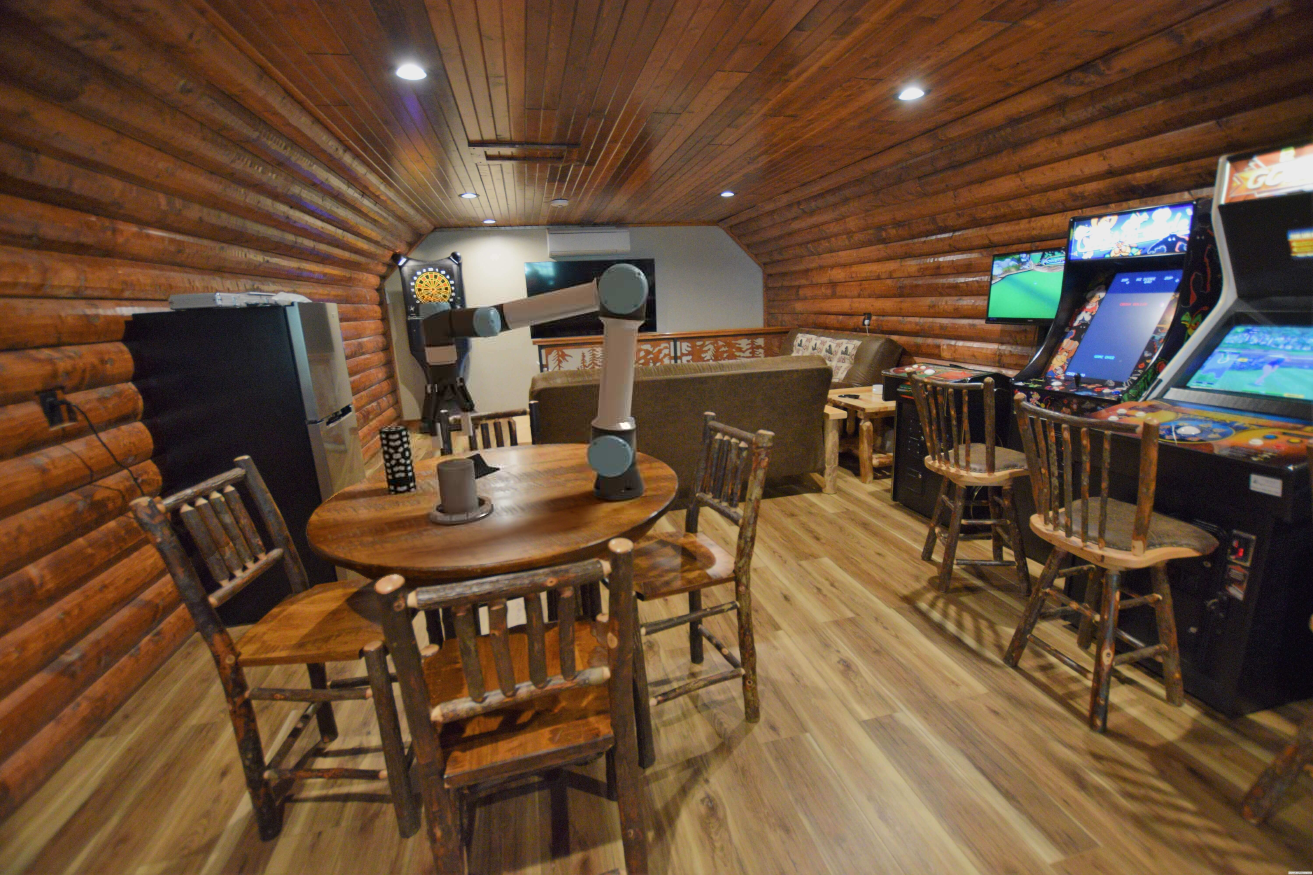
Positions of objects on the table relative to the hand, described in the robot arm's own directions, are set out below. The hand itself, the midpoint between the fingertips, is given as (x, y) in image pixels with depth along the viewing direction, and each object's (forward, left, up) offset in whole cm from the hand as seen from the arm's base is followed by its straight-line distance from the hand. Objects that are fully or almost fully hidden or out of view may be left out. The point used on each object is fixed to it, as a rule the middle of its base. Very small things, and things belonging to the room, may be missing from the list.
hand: (453, 441), depth 156 cm
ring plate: (0, 0, -21) cm, 21 cm away
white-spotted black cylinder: (+32, -15, -21) cm, 41 cm away
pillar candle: (0, 0, -20) cm, 20 cm away
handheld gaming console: (+17, -35, -21) cm, 45 cm away
